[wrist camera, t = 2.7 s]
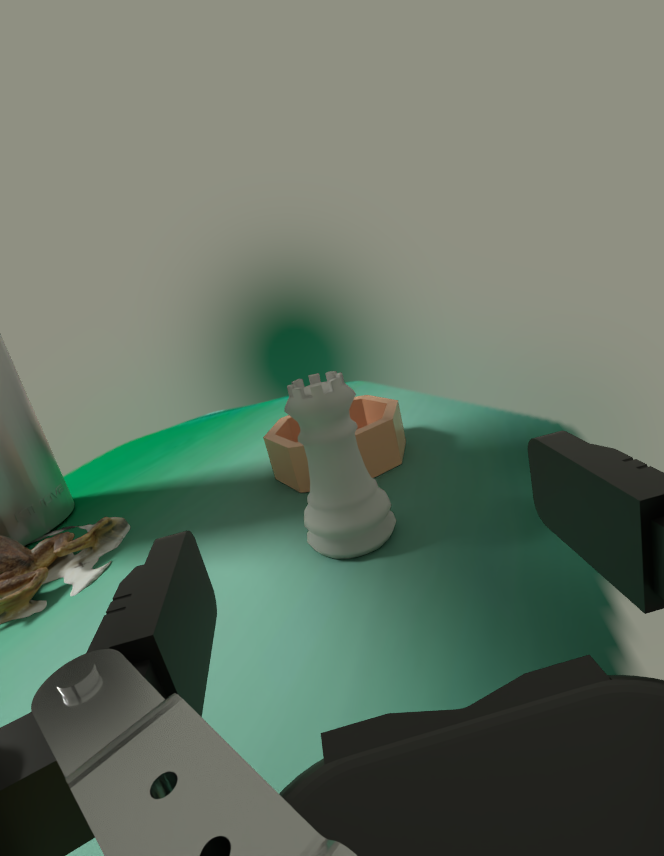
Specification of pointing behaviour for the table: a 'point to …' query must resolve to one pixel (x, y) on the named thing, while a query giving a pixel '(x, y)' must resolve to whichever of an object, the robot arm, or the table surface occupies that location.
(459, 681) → the table surface
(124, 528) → the frog figurine
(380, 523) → the rook chess piece
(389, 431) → the dish
